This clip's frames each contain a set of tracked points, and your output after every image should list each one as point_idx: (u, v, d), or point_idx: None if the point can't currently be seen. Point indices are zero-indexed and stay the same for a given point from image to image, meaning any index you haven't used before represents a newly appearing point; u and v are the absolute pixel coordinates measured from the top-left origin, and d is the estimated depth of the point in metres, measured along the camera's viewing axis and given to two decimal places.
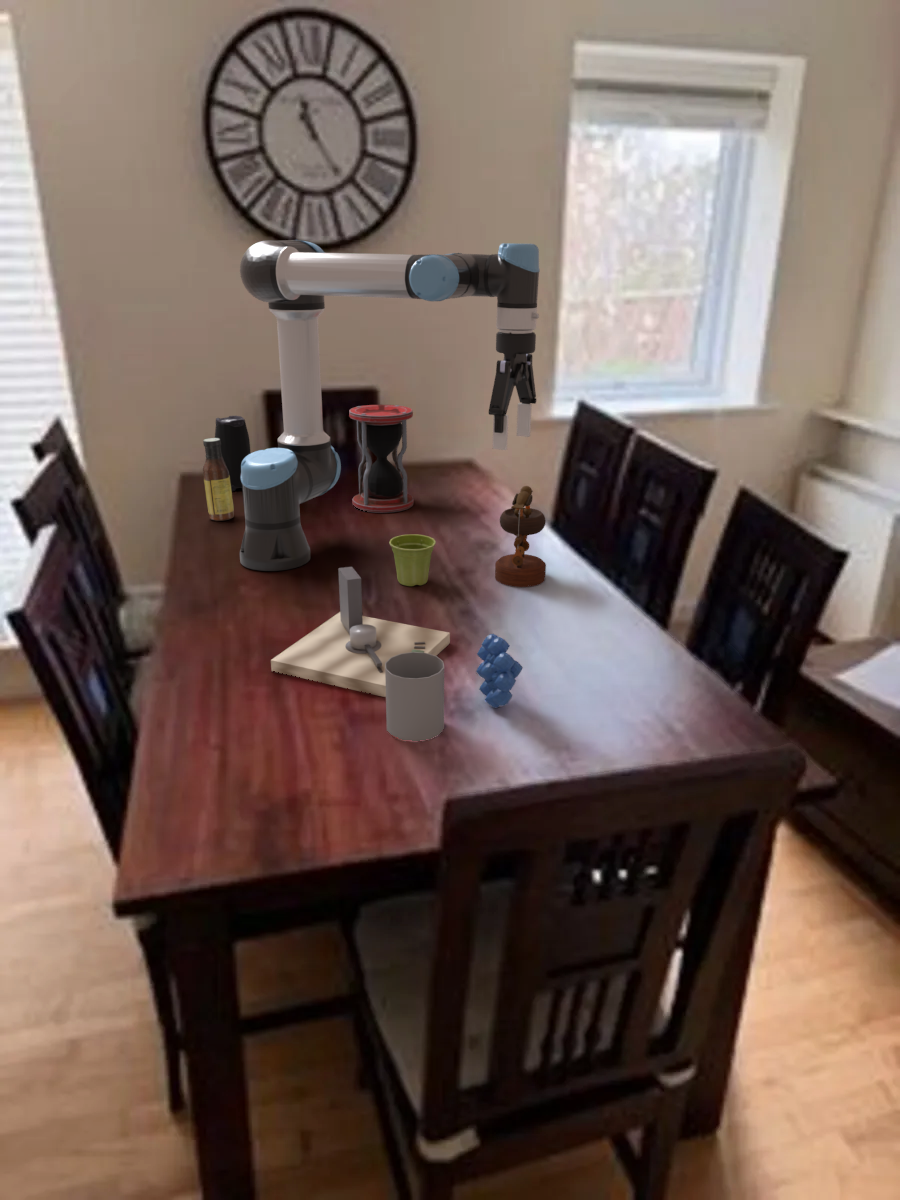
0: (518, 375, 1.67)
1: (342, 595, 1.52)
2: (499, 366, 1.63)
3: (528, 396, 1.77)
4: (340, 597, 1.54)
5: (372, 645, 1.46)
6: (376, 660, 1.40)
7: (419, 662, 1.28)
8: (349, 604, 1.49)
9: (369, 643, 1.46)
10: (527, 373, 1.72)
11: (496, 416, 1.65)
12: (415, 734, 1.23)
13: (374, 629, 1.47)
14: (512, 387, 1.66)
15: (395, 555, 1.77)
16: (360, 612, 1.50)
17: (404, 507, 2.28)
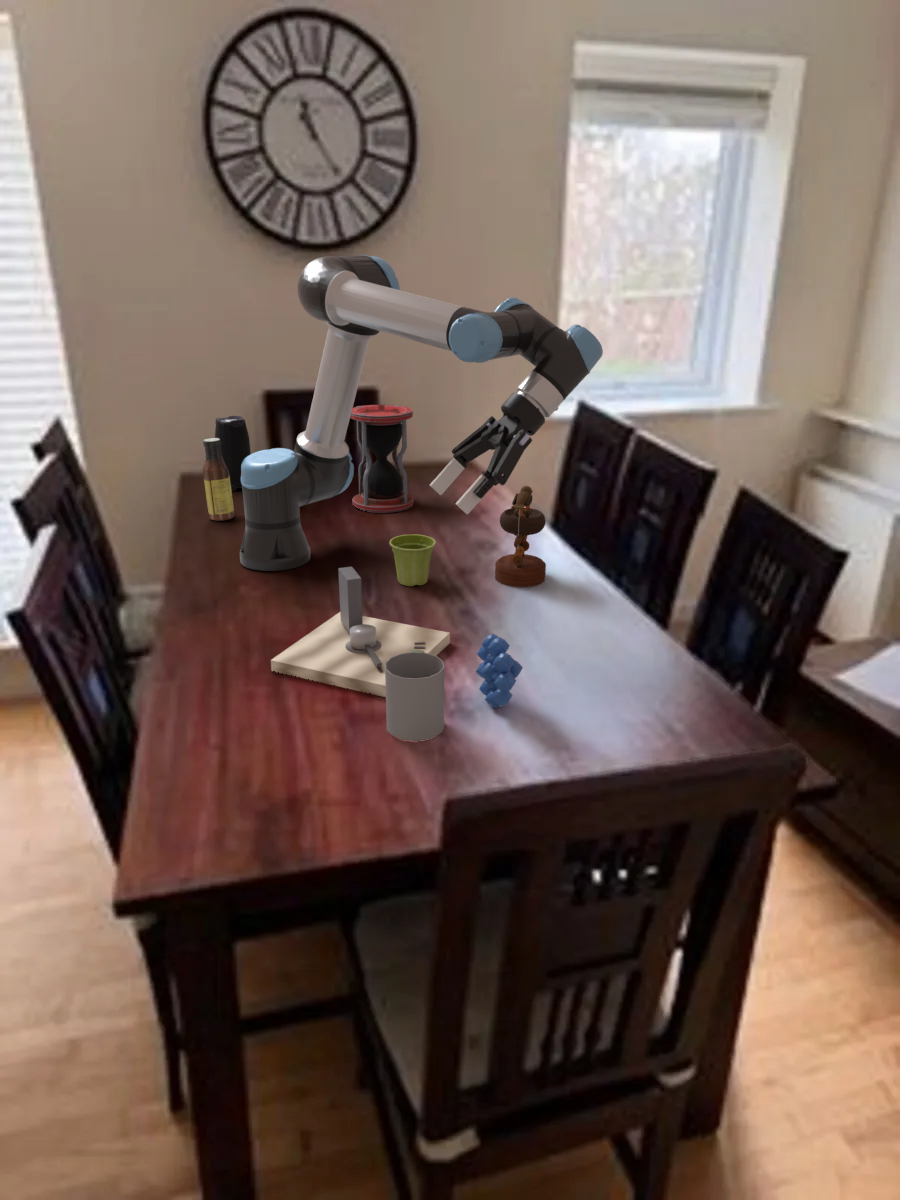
0: None
1: (342, 595, 1.52)
2: (522, 437, 1.46)
3: (470, 459, 1.58)
4: (340, 597, 1.54)
5: (372, 645, 1.46)
6: (376, 660, 1.40)
7: (419, 662, 1.28)
8: (349, 604, 1.49)
9: (369, 643, 1.46)
10: None
11: (489, 481, 1.45)
12: (415, 734, 1.23)
13: (374, 629, 1.47)
14: None
15: (395, 555, 1.77)
16: (360, 612, 1.50)
17: (404, 507, 2.28)
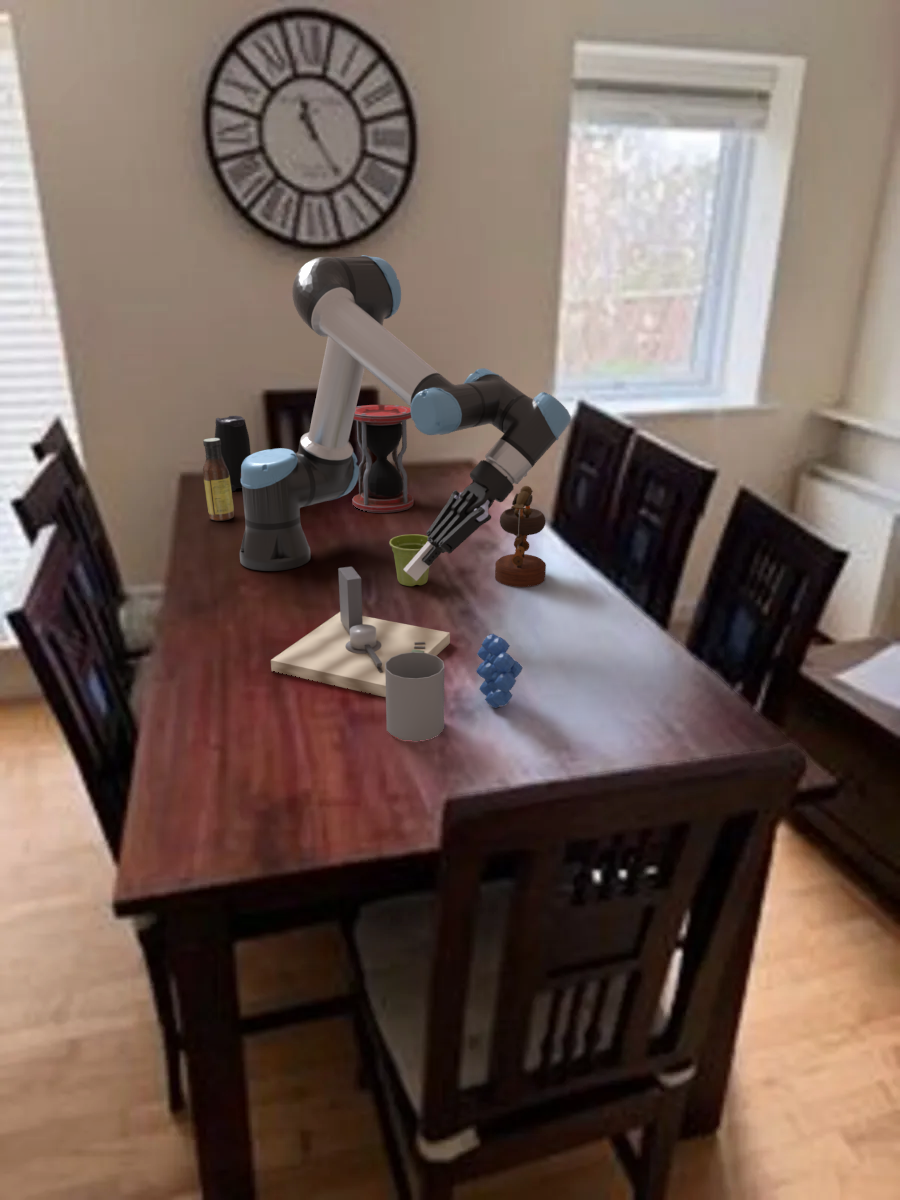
0: None
1: (342, 595, 1.52)
2: (479, 515, 1.47)
3: None
4: (340, 597, 1.54)
5: (372, 645, 1.46)
6: (376, 660, 1.40)
7: (419, 662, 1.28)
8: (349, 604, 1.49)
9: (369, 643, 1.46)
10: None
11: (437, 549, 1.51)
12: (415, 734, 1.23)
13: (374, 629, 1.47)
14: None
15: (395, 555, 1.77)
16: (360, 612, 1.50)
17: (404, 507, 2.28)
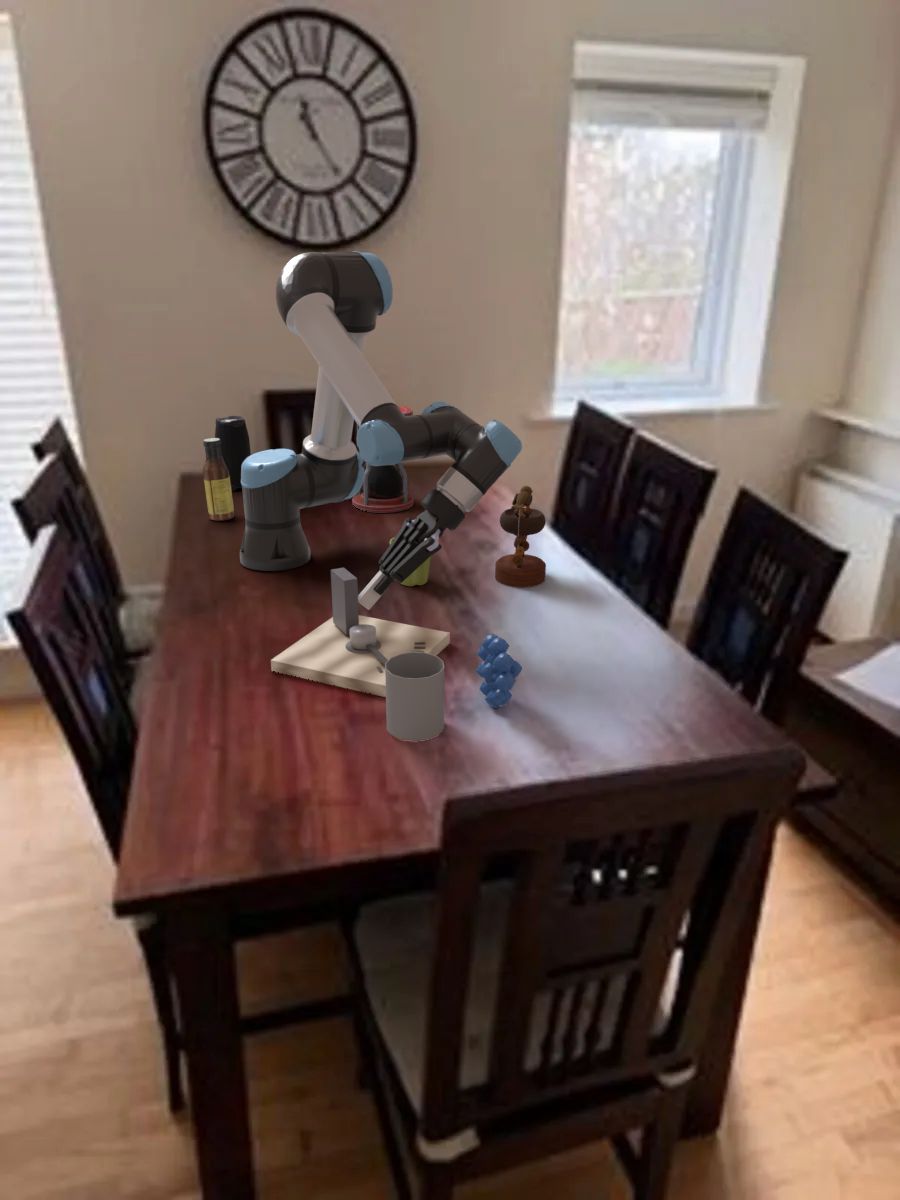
0: None
1: (336, 596, 1.52)
2: (429, 545, 1.46)
3: None
4: (333, 599, 1.53)
5: (373, 644, 1.47)
6: (383, 659, 1.41)
7: (419, 662, 1.28)
8: (346, 605, 1.49)
9: (371, 643, 1.46)
10: None
11: (388, 579, 1.50)
12: (415, 734, 1.23)
13: (374, 628, 1.47)
14: None
15: None
16: (356, 612, 1.50)
17: (404, 507, 2.28)
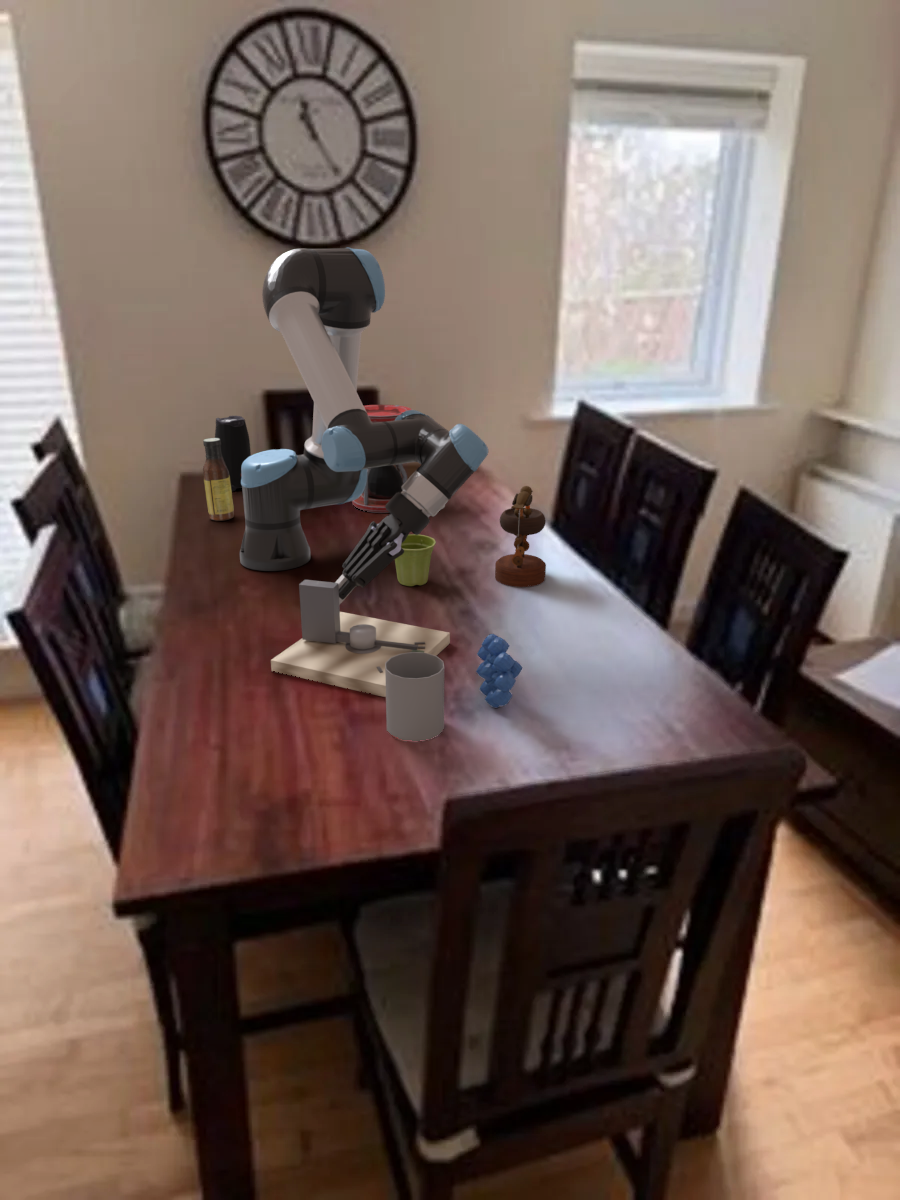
0: None
1: (312, 609, 1.46)
2: (391, 550, 1.44)
3: None
4: (304, 614, 1.47)
5: None
6: (410, 645, 1.45)
7: (419, 662, 1.28)
8: (334, 612, 1.46)
9: None
10: None
11: (351, 583, 1.48)
12: (415, 734, 1.23)
13: (370, 625, 1.48)
14: None
15: None
16: (339, 618, 1.48)
17: None
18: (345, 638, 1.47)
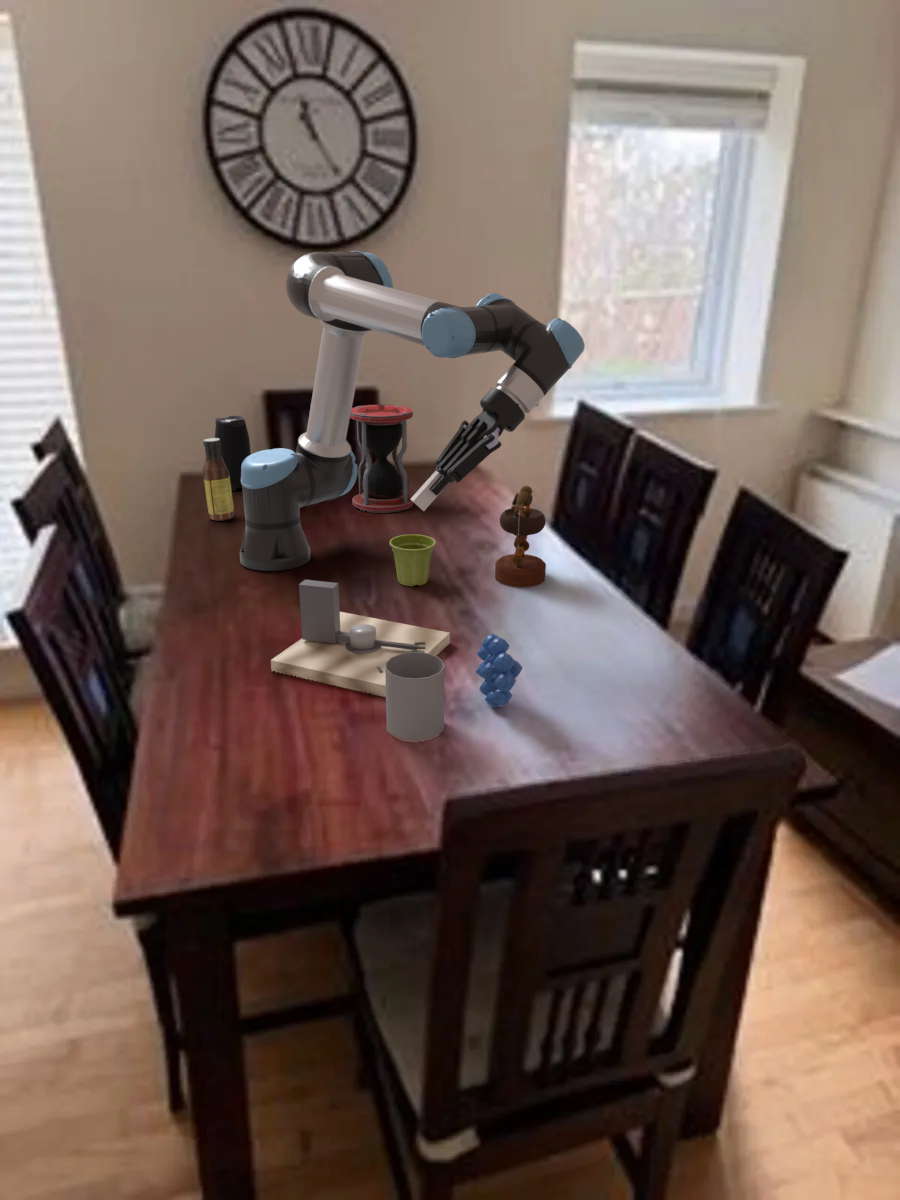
0: None
1: (312, 609, 1.46)
2: (489, 442, 1.43)
3: None
4: (304, 614, 1.47)
5: None
6: (410, 645, 1.45)
7: (419, 662, 1.28)
8: (334, 612, 1.46)
9: None
10: None
11: (445, 478, 1.47)
12: (415, 734, 1.23)
13: (370, 625, 1.48)
14: None
15: (395, 555, 1.77)
16: (339, 618, 1.48)
17: (404, 507, 2.28)
18: (345, 638, 1.47)
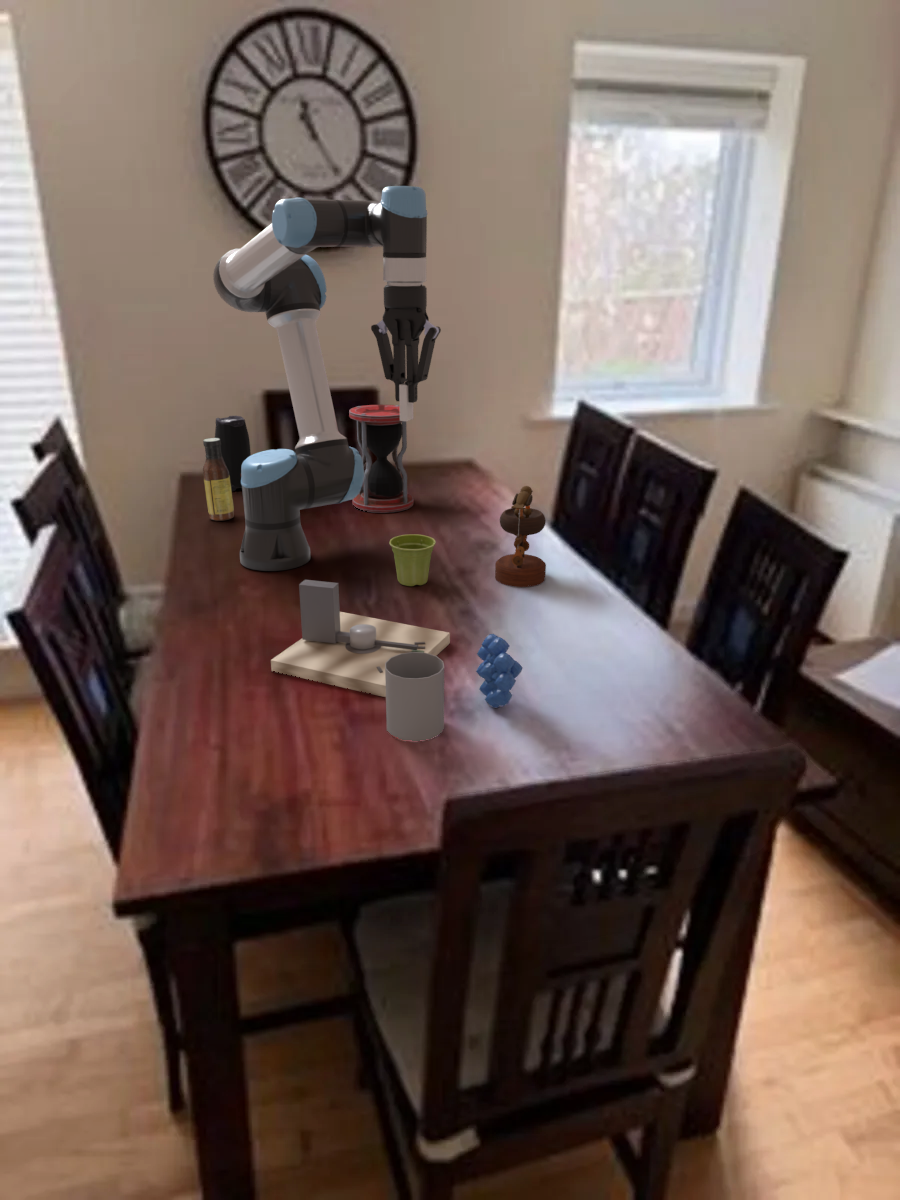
0: None
1: (312, 609, 1.46)
2: (434, 335, 1.54)
3: (405, 369, 1.60)
4: (304, 614, 1.47)
5: None
6: (410, 645, 1.45)
7: (419, 662, 1.28)
8: (334, 612, 1.46)
9: None
10: None
11: (415, 385, 1.59)
12: (415, 734, 1.23)
13: (370, 625, 1.48)
14: None
15: (395, 555, 1.77)
16: (339, 618, 1.48)
17: (404, 507, 2.28)
18: (345, 638, 1.47)
